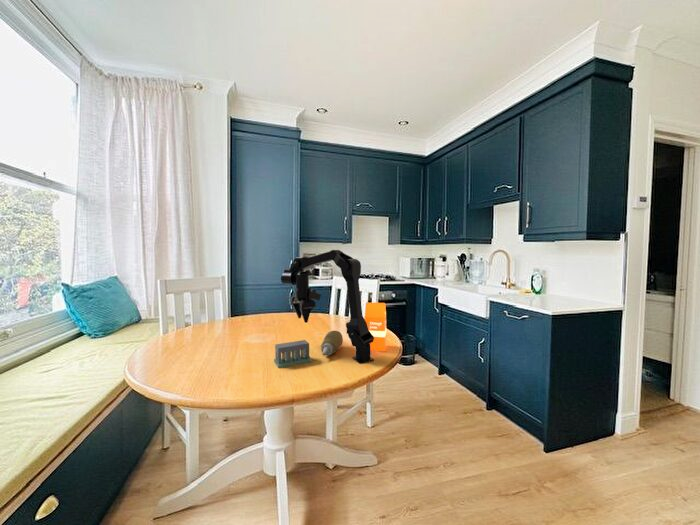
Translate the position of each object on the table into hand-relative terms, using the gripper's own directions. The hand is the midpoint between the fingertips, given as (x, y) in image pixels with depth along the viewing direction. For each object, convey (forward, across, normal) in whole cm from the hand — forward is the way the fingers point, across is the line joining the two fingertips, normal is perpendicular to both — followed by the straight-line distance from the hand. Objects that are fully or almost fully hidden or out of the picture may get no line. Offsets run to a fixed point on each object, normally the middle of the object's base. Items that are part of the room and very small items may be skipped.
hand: (302, 320), depth 133 cm
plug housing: (+11, -15, +9) cm, 21 cm away
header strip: (+12, -15, +9) cm, 21 cm away
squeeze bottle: (+8, -6, -14) cm, 17 cm away
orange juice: (+12, -16, -28) cm, 34 cm away
